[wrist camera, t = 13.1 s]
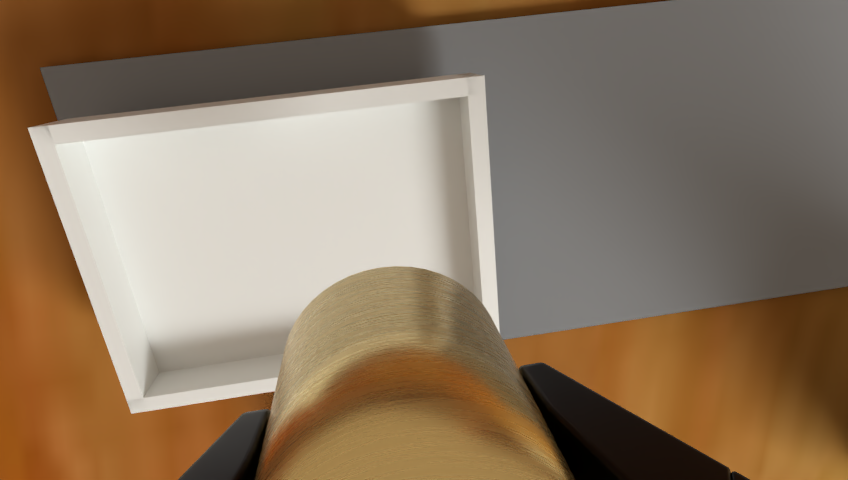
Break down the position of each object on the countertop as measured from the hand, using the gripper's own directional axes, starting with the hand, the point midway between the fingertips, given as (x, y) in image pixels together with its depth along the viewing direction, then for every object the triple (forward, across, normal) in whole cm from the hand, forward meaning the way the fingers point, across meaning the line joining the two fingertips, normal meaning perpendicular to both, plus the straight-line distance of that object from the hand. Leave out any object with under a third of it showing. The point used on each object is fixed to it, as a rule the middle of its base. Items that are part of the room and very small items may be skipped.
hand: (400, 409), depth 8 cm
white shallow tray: (+11, +2, 0) cm, 11 cm away
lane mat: (+11, -6, 0) cm, 13 cm away
